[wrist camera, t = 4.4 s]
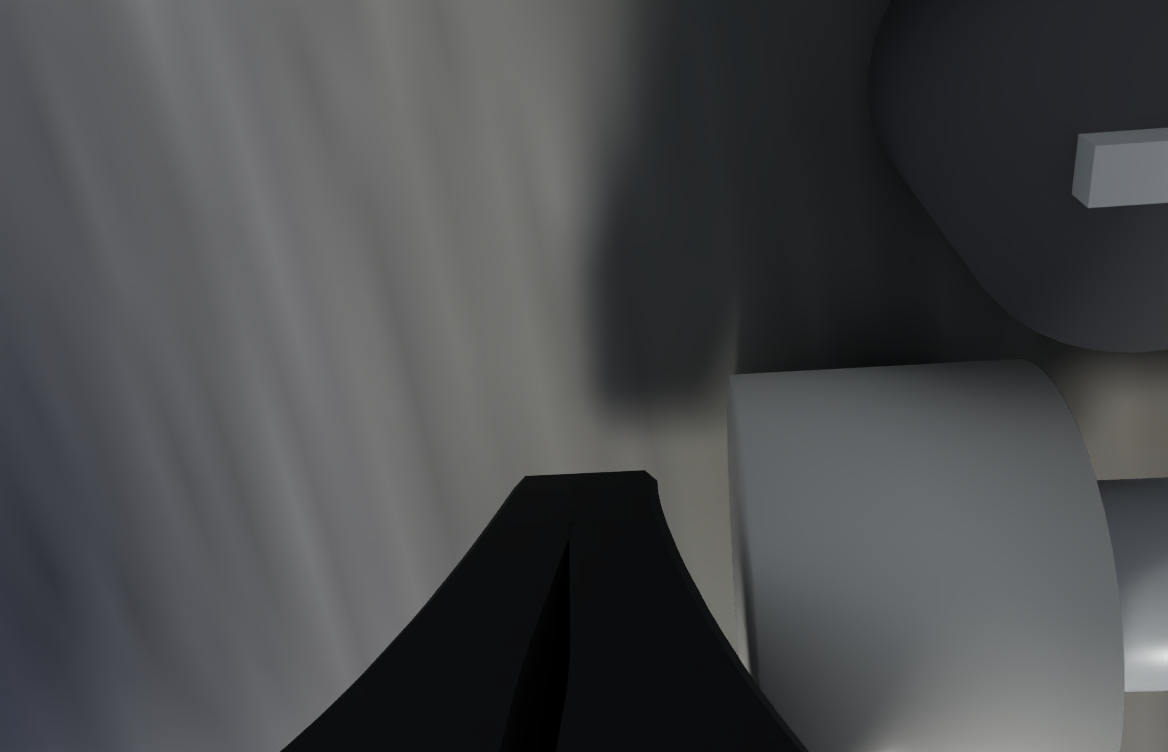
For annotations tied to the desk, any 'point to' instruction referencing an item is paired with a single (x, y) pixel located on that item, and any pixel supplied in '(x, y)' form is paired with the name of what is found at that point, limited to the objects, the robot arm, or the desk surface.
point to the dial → (1039, 153)
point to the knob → (939, 561)
